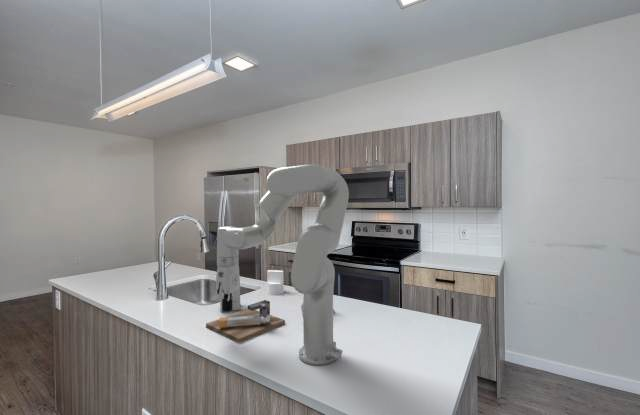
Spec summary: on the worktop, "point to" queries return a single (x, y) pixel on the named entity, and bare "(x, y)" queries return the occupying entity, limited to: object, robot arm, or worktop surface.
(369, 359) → the worktop surface
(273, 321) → the board
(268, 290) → the cylinder with rectangular tab
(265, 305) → the link
